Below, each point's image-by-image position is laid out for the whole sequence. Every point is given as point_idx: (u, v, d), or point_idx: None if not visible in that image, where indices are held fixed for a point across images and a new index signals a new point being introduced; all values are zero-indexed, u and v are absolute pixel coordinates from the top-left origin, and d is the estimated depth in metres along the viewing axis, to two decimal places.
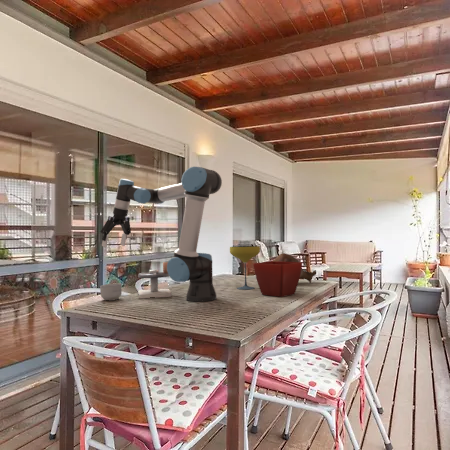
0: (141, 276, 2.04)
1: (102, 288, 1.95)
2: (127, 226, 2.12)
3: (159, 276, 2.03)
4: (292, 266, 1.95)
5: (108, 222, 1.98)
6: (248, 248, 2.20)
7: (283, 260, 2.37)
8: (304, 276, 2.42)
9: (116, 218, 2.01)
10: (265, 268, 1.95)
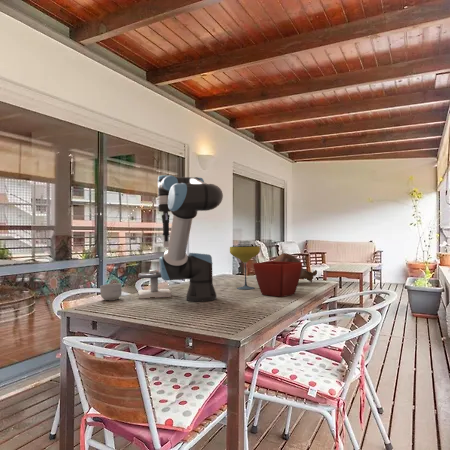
0: (141, 276, 2.04)
1: (102, 288, 1.95)
2: None
3: (159, 276, 2.03)
4: (292, 266, 1.95)
5: (167, 222, 2.03)
6: (248, 248, 2.20)
7: (284, 260, 2.37)
8: (305, 276, 2.43)
9: None
10: (265, 268, 1.95)
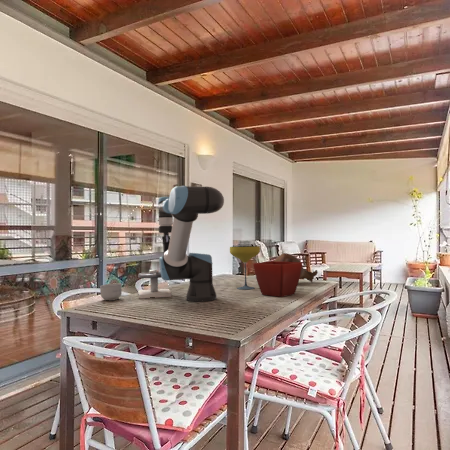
0: (141, 276, 2.04)
1: (102, 288, 1.95)
2: None
3: (159, 276, 2.03)
4: (292, 266, 1.95)
5: (167, 244, 2.02)
6: (248, 248, 2.20)
7: (284, 260, 2.37)
8: (305, 276, 2.43)
9: (168, 236, 2.04)
10: (265, 268, 1.95)
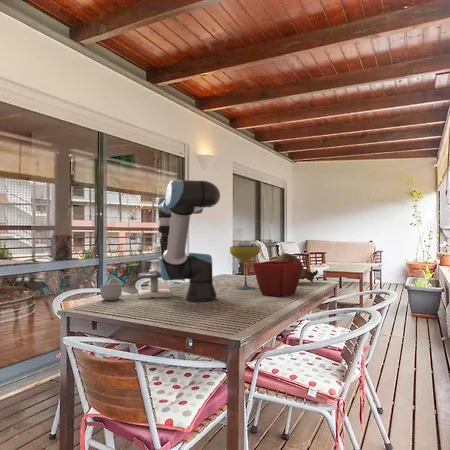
0: (141, 276, 2.04)
1: (102, 288, 1.95)
2: None
3: (159, 276, 2.03)
4: (292, 266, 1.95)
5: None
6: (248, 248, 2.20)
7: (285, 260, 2.37)
8: (306, 276, 2.43)
9: None
10: (265, 268, 1.95)
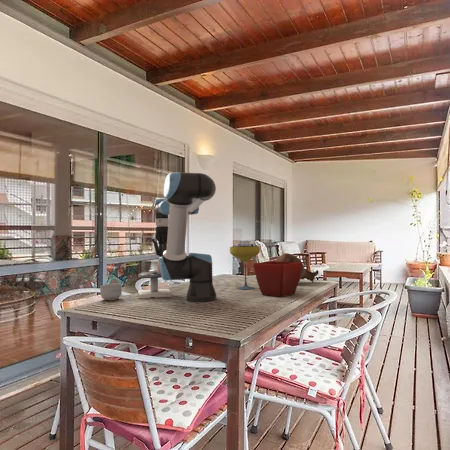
0: (154, 276, 2.02)
1: (102, 288, 1.95)
2: (157, 247, 2.18)
3: None
4: (292, 266, 1.95)
5: None
6: (248, 248, 2.20)
7: (285, 260, 2.37)
8: (306, 276, 2.43)
9: None
10: (265, 268, 1.95)
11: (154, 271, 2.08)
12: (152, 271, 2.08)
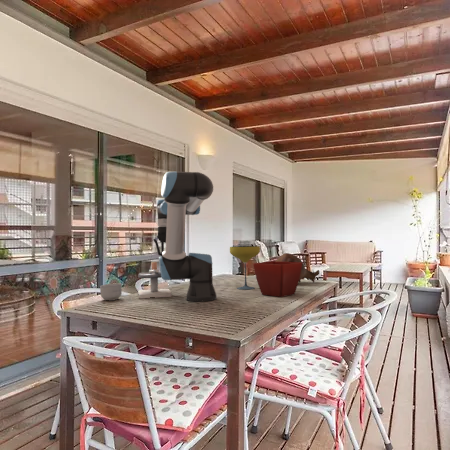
0: None
1: (102, 288, 1.95)
2: (158, 247, 2.18)
3: None
4: (292, 266, 1.95)
5: None
6: (248, 248, 2.20)
7: (286, 260, 2.37)
8: (307, 276, 2.43)
9: None
10: (265, 268, 1.95)
11: (156, 271, 2.09)
12: (154, 271, 2.09)
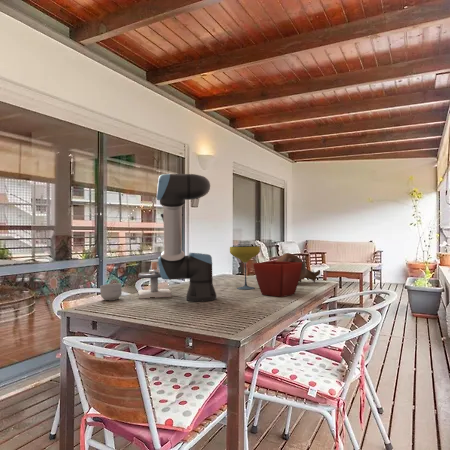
0: None
1: (102, 288, 1.95)
2: None
3: None
4: (292, 266, 1.95)
5: None
6: (248, 248, 2.20)
7: (287, 260, 2.38)
8: (308, 276, 2.43)
9: None
10: (265, 268, 1.95)
11: (156, 271, 2.09)
12: (154, 271, 2.09)
